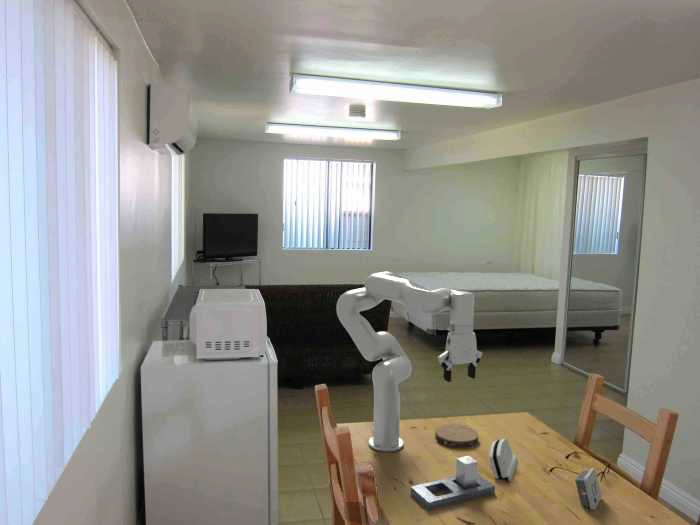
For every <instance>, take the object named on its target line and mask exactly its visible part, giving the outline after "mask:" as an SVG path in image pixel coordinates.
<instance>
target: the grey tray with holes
mask: <svg viewBox="0 0 700 525" xmlns="http://www.w3.org/2000/svg"><path fill="white" fill-rule="evenodd" d="M441 491H442V492H444V494H443V495H439V496H436V495H435V494H433V493H435V492H441ZM495 493H496V485H494V484H493V483H491V482H490V481H488V480H487V479H486V478H485V477H483V476H481V475H480V474H479V473H477V484H476V487H475V488H471V489H467V490H463V489H462V488H461V487H459V486H458V485H457V484H456V475H455V476H451V477H447V478H442V479H438V480H434V481H433V480H432V481H429V482H424V483H421V484H420V483H419V484H417V485H416V484H415V485H412V486H410V495H411V496H412V497H413V498H414V499H415V500H416V501H417V502H418V503H419V504H420V505H422V506H423V507H424V509H426V510H427V511H433V510H437V509H441V508H445V507H449V506H452V505H456V504H461V503H465V502H467V501H471V500H476V499H479V498H484V497H488V496H491V495H496V494H495Z"/></svg>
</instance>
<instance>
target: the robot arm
mask: <svg viewBox="0 0 700 525" xmlns="http://www.w3.org/2000/svg"><path fill="white" fill-rule="evenodd" d="M411 283H412V282H411V281H410V280H409V279H406V278H400V277H397V275H396V274H395V273H393V272H392V271H380V272H376V273H372V274H370V275H369V276H367V277H366V279H365V281H364V287H360V288H355V289H351V290H347V291H345V292H344V293H342V294H341V295H340V296H339V298H338V299H337V302H336V307H335V308H336V315H337V318H338V320H339V321H340V323H341V325H342V327H344V329H345V330H346V332H347V333H348V334H349V336H350V337H351V339H352V341H353V342H354V345H356V348H357V349H358V351H359V353H360V354H361V356H362V357H363V358H364V359H365V360H366V361H368V362H374V361H375V362H376V361H378V360H381V359H382V361H380V362H378V363H377V364H376V365H375V366H374V367H373V369H372V372H371V380H372V385H373V427H372V428H371V432H372V437H370V438H369V440H368V445H369V447H370V448H371V449H372V450H373V449H374V450H376V451H378V452H390V453H391V452H396V451H399V450H401V449H402V448H403V447H404V441H403V439H401V438H400V422H401V421H400V420H401V419H400V418H401V415H400V413H401V395H400V391H399V387H398V385H399V384H400V383H402V382H403V381H406V380H407V379H409V377H410V376H411V374H412V371H413V367H412V363H411V360H410V358H409V357H408V355H407V354H406V352H405V351H404V350H403V347H402V346H401V345H400V344H399V342H398V340H397V339H396V338H395V337H394V335H392V334H391V333H390V332H388V331H384V330H383V331H377V332H376V331H375V330H374V328H373V327H372V326H371V323H370V322H369V321H368V320H367V319H366V317H364V316H363V315H362V314H361V313H360V312H363V311H367V310H370V309H372V308H374V307H376V306H377V305H379V304H380V303H382V302H383V301H385V300H387V301H392V302H395V303H400V304H402V305H403V306H405V307H407V308H408V309H410V310H412V311H416V312H417V311H418V312H421V313H424V314H425V313H426V314H429V315H433V314H434V315H435V314H439V313H441V312H445V311H449V310H450V313H449V314H450V318H449V319H450V320H449V326H447V327H446V328H447V331H448V333H447V337H446V341H445V342H446V343H445V351H444V352H443V353H441V354H440V355H438V356H437V361H438V362H439V365H440V366H441V367H442V369H443V380H444V381H446V382H447V383H451V382H452V370H451V368H452V367H453V365H454V366H457V365H458V366H459V365H467V377H469V378H471V379H472V380H473V379H476V369H477V367H478V364H479V363H480V361H481V358H482V357H483V352H482V351H480V350H478V348H477V347H478V345H477V337H476V333H475V332H474V319H475V318H474V317H475V316H474V314H475V295H474V293H473V292H470V291H463V290H460V291H459V290H455V289H451V288H448V287H442V288H437V289H434V290H426V289H421V288H417V287H414V286H412V284H411ZM444 360H445V361H444Z"/></svg>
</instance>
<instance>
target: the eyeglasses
mask: <svg viewBox="0 0 700 525" xmlns="http://www.w3.org/2000/svg"><path fill="white" fill-rule="evenodd" d="M573 454H582V455H583V454H584V455H586V456H588V457H591V458H594V459H597V460H599V461H601V462H604V463H607V465H606V467H605V468H604V470H603V471H600V472H599V473H597V474H596V475H597V478H598V476H600V480H599V482H600V483H601V482H602V480H603V479H604V478H606V475H605V474H606V473H607V474H609V472H610V468H611V466H612V462H611V461H610V462H609V461H607V460H604V459H601V458H598V457H596V456H594V455H590V454H589V453H585V452H579V451H576V452H570V453H569V454H567V455H566V456H565V457H564V458H566V459H565V460H568V459H569V458H570V456H572V455H573ZM554 469H562V470H565V471H568V472H571V473H574V474H577V475H579V474H580V472H575V471H572V470H569V469H567V468H563V467H559V466H554V467H551V468H550V469H549V472H550V473H552V472H553V471H554ZM607 469H608V470H607ZM606 470H607V472H606Z"/></svg>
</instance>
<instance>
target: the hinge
mask: <svg viewBox="0 0 700 525" xmlns="http://www.w3.org/2000/svg"><path fill="white" fill-rule="evenodd" d="M488 457H489V462H490V465H491V469H492V472H493V477H494V479H499V478H502V479H504V478H508V481H509V482H512V479H513V476H514V473H515V470H516V467H517V464H518V458H517V455H516V454H513V452H512V449H511V446H510V443H509V441H508V439H507V438H502V439H497V440H495V441H493V442H492V443H491V446H490V450H489V456H488Z"/></svg>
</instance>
